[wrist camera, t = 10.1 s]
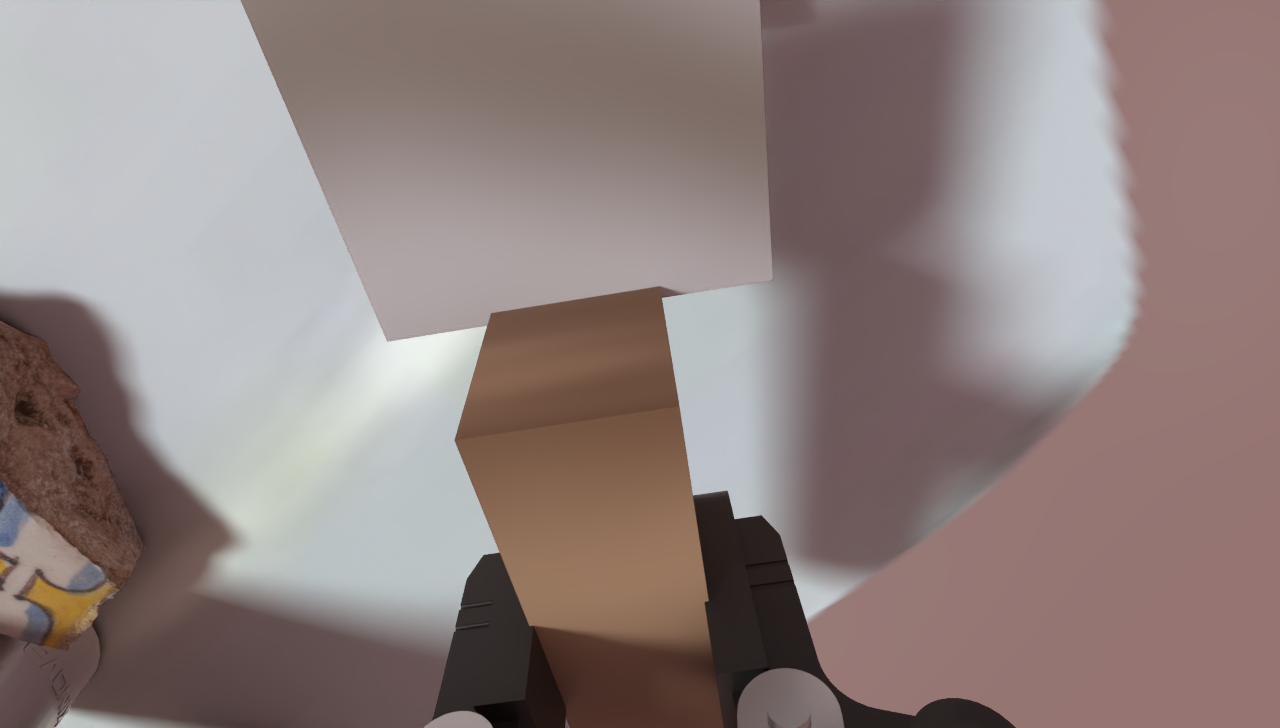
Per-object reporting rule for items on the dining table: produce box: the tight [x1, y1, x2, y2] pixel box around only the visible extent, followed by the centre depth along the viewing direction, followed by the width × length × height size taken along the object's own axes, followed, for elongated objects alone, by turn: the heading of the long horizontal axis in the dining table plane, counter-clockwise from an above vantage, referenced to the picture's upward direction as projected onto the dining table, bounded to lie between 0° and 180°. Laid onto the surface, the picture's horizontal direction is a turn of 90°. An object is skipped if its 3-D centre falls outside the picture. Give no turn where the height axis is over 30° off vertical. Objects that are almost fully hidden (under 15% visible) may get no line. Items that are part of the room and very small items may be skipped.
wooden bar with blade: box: [241, 0, 773, 728], centre depth 11 cm, size 18×6×4 cm, turn 9°
